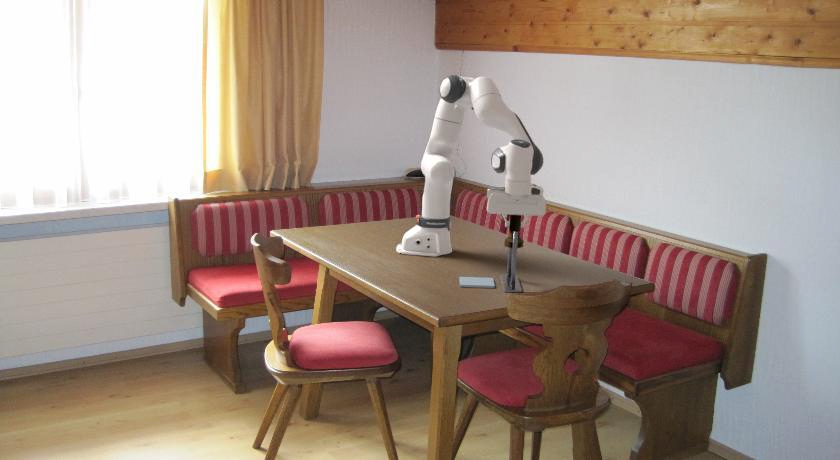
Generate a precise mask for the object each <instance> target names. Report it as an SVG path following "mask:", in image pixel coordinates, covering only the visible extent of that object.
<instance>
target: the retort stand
mask: <svg viewBox="0 0 840 460" xmlns="http://www.w3.org/2000/svg"><path fill="white" fill-rule="evenodd" d="M517 245H518V231H514V232H513V248H509V247H507V248H508V249H507V250H508V251H507V265H506V266H507V267H506V268H507V269H506V274H501V273H500V276H499V277H500V278H499V279H500V281H501V285H502V289H503V292H504V293H507V292H508V293H511V294H513V293H512V292H522V293H523V289H522V287H521V283H520V280H519V277H518V275H517V262H518V261H517V259H518V248H517ZM508 293H507V294H508Z"/></svg>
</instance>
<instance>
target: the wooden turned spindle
mask: <svg viewBox="0 0 840 460" xmlns="http://www.w3.org/2000/svg"><path fill="white" fill-rule="evenodd" d="M517 201H518V200H517ZM509 221H510V227H508V228H509V231H508V236H506V238H505V239H504V245H503V246H504V247H505V248H508V247H509V248H513V232H514V231H518V245H517V249H521V248H523V247H524V239H523V238H522V237H521V222H522V215H509Z"/></svg>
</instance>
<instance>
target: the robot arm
mask: <svg viewBox="0 0 840 460" xmlns="http://www.w3.org/2000/svg"><path fill="white" fill-rule="evenodd" d="M439 95H440V96H439V97H440V99H439V102H438V105H437V107H436V111H435V114H434V118H433V123H432V126H431V132H430V137H429V139H428V142H427V145H426V147H425V150H424V153H423V157H422V159H421V162H420V168H421V169H420V170H421V172H422V174H423V176H424V177H425V178H424V180H425V181H424V188H423V193H422V194H423V195H422V198H421V199H422V202H421V207H422V208H421V215H420V214H417V215H415V220H416V224H415V226H413V227H412V228H410V229H409V230H407V231H406V232H405V233H404V234H403V237H402V240H401V243H398V244H397V246H396V247H395V250H396V251H395V252H396V253H398V254H400V253H401V255H402V254H403V255H412V256H423V257H424V256H425V257H439V256H442V255H443V256H444V255H448V254H451V253H452V252H453V249H452V244H451V243H452V242H451V238H450V237H451V236H450V231H451V225H452V224H451V221H452V220H451V216H450V212H451V211H450V209H451V196H452V195H451V194H452V190H453V184H454V178H455V166H454V164H453V162H452V161H451V159H452V156H453V154H454V151H455V149H456V146H457V145H458V143H459V138H460V135H461V131H462V125H463V122H464V115H465V112H466V110H467V109H469V108H470V109H471V110H472V111H474V114H475V117H476V118H477V120H478V121H479V122H480V124H481V125H484V126H486V127H488V128H491V129H496V130H498V131H503V132H505V133H507V134H508V135H510V136H511V138H512V140H510V141H509V142H508V144H507V145H503V146H500V147H497V148H496V149H495V150H494V151H493V152H492V153H491V160H490V161H491V163H490V165H491V168H492V169H493V171H494V172H496V173H497V174H500V175H505V179H504V180H505V181H504V186H492V187H490V188H489V187H488V189H487V190H486V197H487V204H486V212H487V213H488V214H489V215H490V214H493V215H502V218H503V220H504V222H505V223H504V227H505V228H509V227H510V220H509V221H508V220H507V217H508V215H509V216H510V215H521V216H523V217H524V219H523V221H521V228H523V229H525V228H526V223H527V221H528V220H529V218H530V216H533V217H537V216H538V217H543V216H545V215H546V213H547V210H546V209H547V204H546V199H545V197H544V196H543V195H544V193H545V192H544V188H543V187H542V186H540V185H537V184H534V183H532V177H531V176H534V175H536V174H537V173H539V171H540V170H542V168H543V166H544V156H543V153H542V151H541V149H540V148H539V147H538V146H537V145H536V144H535V142H534V141H533V139H532V137H531V136H530V134H529V132H528V130H527V128H526V127H525V125H524V123H523V122H522V120H521V118H520V116H518V115H517V114H516V113H515V112H514V111H513V110H511V109H510V107H508V105H507V104H506V103H505V102H504V99H503V97H502V95H501V93H500V90H499V87H498V86H497V85H496V83H495V82H494V80H493V79H492V78H491V77H488V76H478V77H476V78H475V77H467V76H460V75H457V74H451V75H446V76H445V77H444V78H443V79H442V81H441V82H440V84H439ZM517 200H518V201H517Z"/></svg>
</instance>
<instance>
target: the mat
mask: <svg viewBox="0 0 840 460" xmlns="http://www.w3.org/2000/svg"><path fill="white" fill-rule="evenodd" d="M458 280H459V288H477V289H478V288H483V289H495V286H496V285H495V281H494V278H493V277H478V276H477V277H475V276H459V278H458Z"/></svg>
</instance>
